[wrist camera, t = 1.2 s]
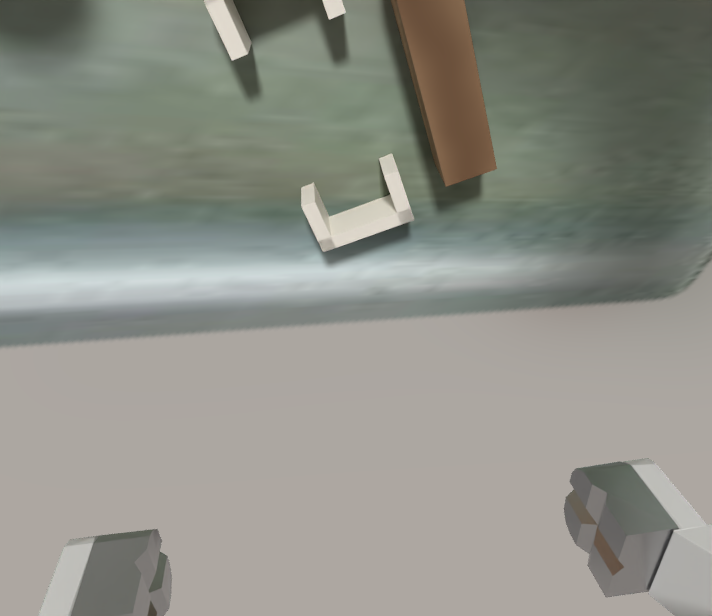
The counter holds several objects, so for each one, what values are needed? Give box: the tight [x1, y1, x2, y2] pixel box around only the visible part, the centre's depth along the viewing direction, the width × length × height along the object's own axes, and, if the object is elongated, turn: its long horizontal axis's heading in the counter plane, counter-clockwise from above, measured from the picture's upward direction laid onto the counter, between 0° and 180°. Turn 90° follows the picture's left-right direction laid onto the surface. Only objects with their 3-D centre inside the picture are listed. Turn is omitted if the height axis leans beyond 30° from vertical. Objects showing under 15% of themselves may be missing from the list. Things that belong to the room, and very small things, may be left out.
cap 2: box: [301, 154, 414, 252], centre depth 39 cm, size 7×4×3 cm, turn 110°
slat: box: [391, 0, 497, 187], centre depth 33 cm, size 4×14×4 cm, turn 19°
